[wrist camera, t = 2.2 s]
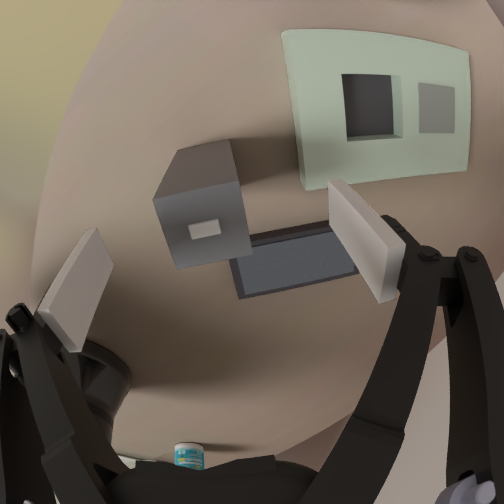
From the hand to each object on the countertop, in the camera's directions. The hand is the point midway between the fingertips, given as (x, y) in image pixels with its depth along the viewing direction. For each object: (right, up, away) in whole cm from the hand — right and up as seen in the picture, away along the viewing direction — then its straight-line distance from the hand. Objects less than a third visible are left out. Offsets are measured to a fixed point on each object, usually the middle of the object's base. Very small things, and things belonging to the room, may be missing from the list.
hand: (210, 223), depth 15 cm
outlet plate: (+15, +13, +7) cm, 21 cm away
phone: (+7, -2, +15) cm, 17 cm away
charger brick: (-2, +6, +9) cm, 11 cm away
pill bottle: (-14, -51, +45) cm, 70 cm away
